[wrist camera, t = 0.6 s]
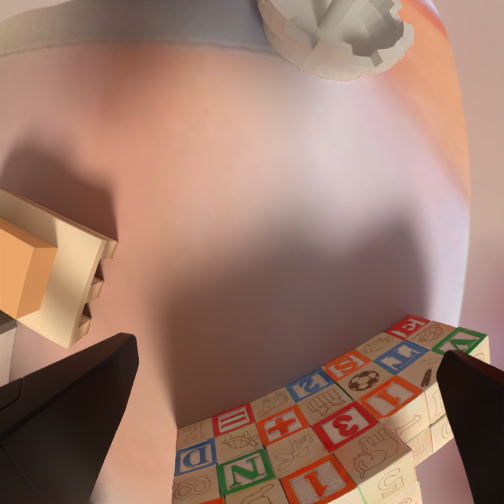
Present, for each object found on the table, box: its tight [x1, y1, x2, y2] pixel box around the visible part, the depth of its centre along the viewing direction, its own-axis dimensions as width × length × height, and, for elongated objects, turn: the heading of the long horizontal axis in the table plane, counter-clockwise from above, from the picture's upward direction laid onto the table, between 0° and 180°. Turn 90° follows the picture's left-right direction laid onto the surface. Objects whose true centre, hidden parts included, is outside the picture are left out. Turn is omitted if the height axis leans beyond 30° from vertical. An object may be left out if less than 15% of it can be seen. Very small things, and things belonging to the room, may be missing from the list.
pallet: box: [0, 188, 118, 349], centre depth 17 cm, size 7×10×4 cm
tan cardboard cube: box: [0, 217, 58, 319], centre depth 13 cm, size 4×5×3 cm
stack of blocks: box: [172, 315, 490, 504], centre depth 16 cm, size 21×6×12 cm, turn 114°
